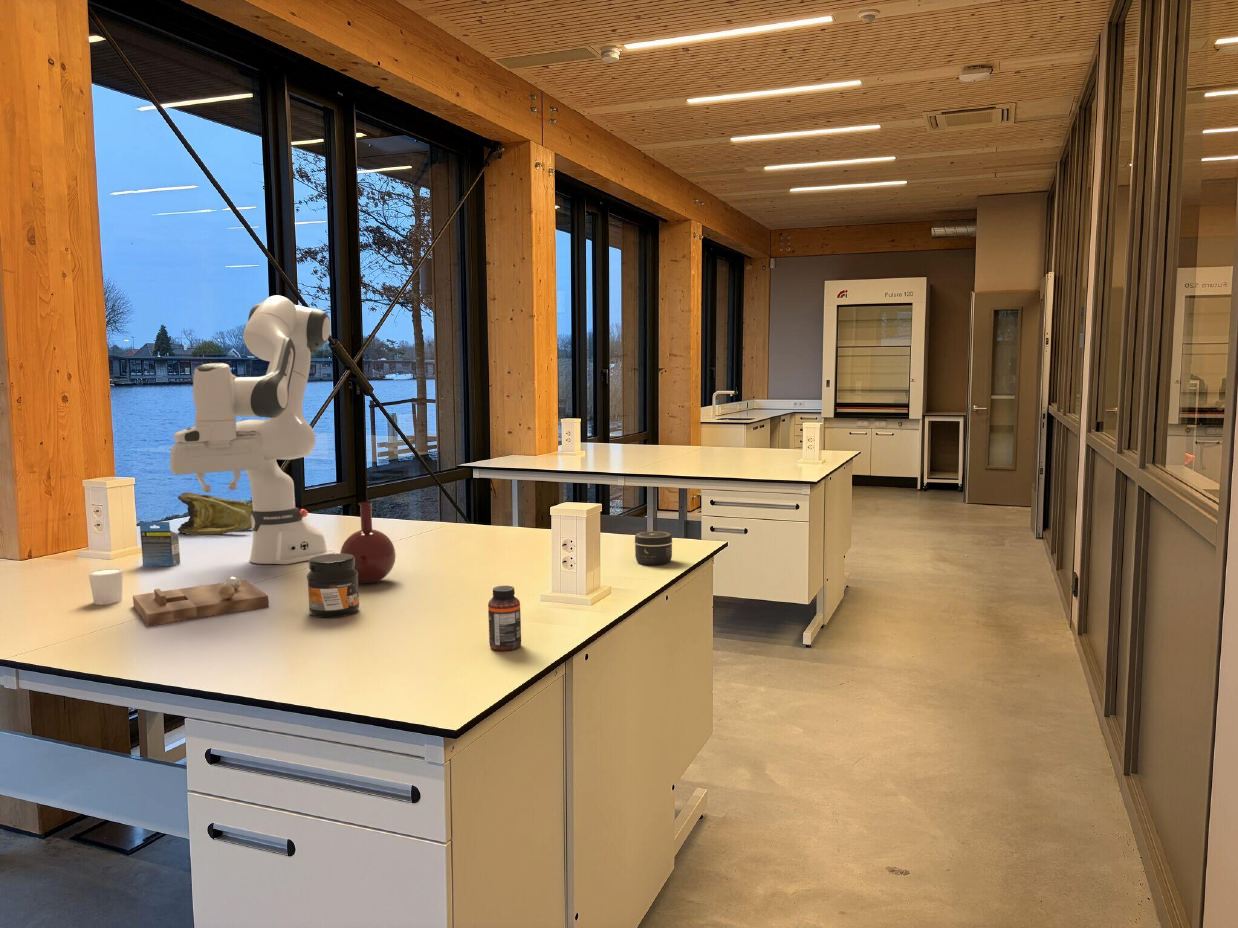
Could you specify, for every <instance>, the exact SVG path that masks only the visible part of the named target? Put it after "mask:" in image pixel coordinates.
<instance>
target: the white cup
mask: <svg viewBox="0 0 1238 928" xmlns="http://www.w3.org/2000/svg"><path fill="white" fill-rule="evenodd" d="M123 574H124V571H123V569H121V568H106V569H99V570H95V571H91V572H89V573H88V579H89V584H90V585H89V586H90V590H91V595H92V600H93V604H94V605H97V604H99V606H100V605H102V606H103V604H105V605H111V604H112V605H113V604H117V603H119V602H122V601H123V577H124V575H123Z"/></svg>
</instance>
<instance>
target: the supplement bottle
mask: <svg viewBox="0 0 1238 928" xmlns="http://www.w3.org/2000/svg"><path fill="white" fill-rule="evenodd" d="M515 594H516V592H515V587H514V586H512V585H497V586H495V587H493V588H492V597H491V599H489V601H488V603H487V609H488V616H487V617H488V638H489V639H488V640H489V641H488V643H489V647H490V648H491V649H492V650H494V651H499V652H506V651H507V652H509V651H514V650H516V649H519V648H520V647H521V645H522V624H521V623H522V622H521V621H522V620H521V618H522V617H521V601H520V599H519V598H518V597H515Z"/></svg>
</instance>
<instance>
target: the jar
mask: <svg viewBox="0 0 1238 928" xmlns="http://www.w3.org/2000/svg"><path fill="white" fill-rule="evenodd" d="M634 549H635V550H634V551H635V552H634V553H635V555H634V557H635V559H636V563H637V564H638V565H641V566H645V567H646V566H649V567H659V566H667V565H668V564H670V563H671V561H672V557H673V535H672V534H671V533H670V532H666V531H656V530H655V531H654V530H653V531H641V532H637V533H635V536H634Z"/></svg>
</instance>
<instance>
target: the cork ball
mask: <svg viewBox="0 0 1238 928" xmlns="http://www.w3.org/2000/svg"><path fill="white" fill-rule="evenodd" d="M234 594H235V590H234V588H233V587H232V586H231V585H224V586H222V587H221V588H220V590H219V596H220V597H221V598H222V599H225V600H227V599H230V598H232V597H233V596H234Z"/></svg>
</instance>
